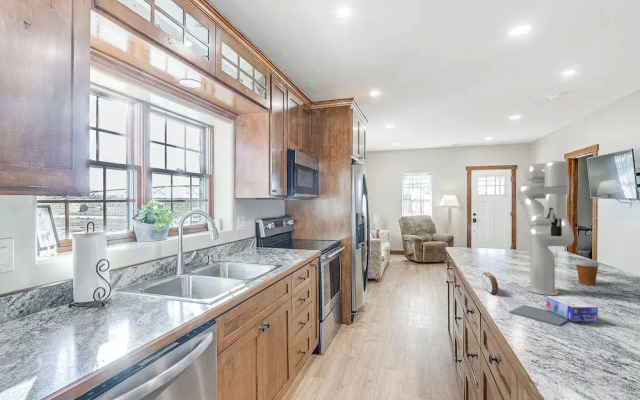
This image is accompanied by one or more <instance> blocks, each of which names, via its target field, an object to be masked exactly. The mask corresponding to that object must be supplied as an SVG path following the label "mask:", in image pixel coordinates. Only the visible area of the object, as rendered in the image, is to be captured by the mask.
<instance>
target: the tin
mask: <svg viewBox="0 0 640 400" xmlns="http://www.w3.org/2000/svg"><path fill="white" fill-rule="evenodd" d="M481 278H482V286H483V288H484V290H485V291H487V292H488V293H489V294H491V295H497V294H498V292H499V285H498V280H497V278H496V276H494V275H493V274H492V273H491V272H490V271H489V272H483V273H482V275H481Z"/></svg>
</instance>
